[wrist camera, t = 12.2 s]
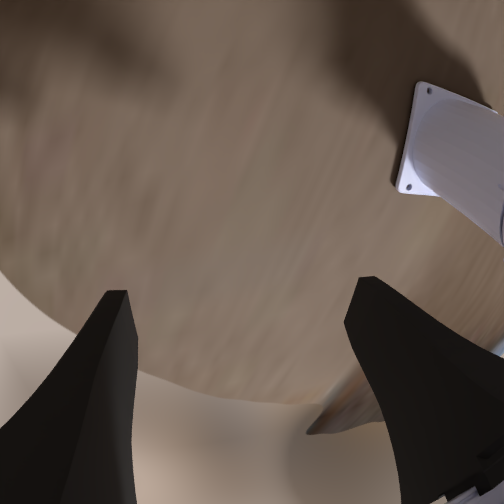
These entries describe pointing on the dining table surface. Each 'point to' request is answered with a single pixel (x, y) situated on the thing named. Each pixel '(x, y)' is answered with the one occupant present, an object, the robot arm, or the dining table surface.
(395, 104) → the dining table surface
